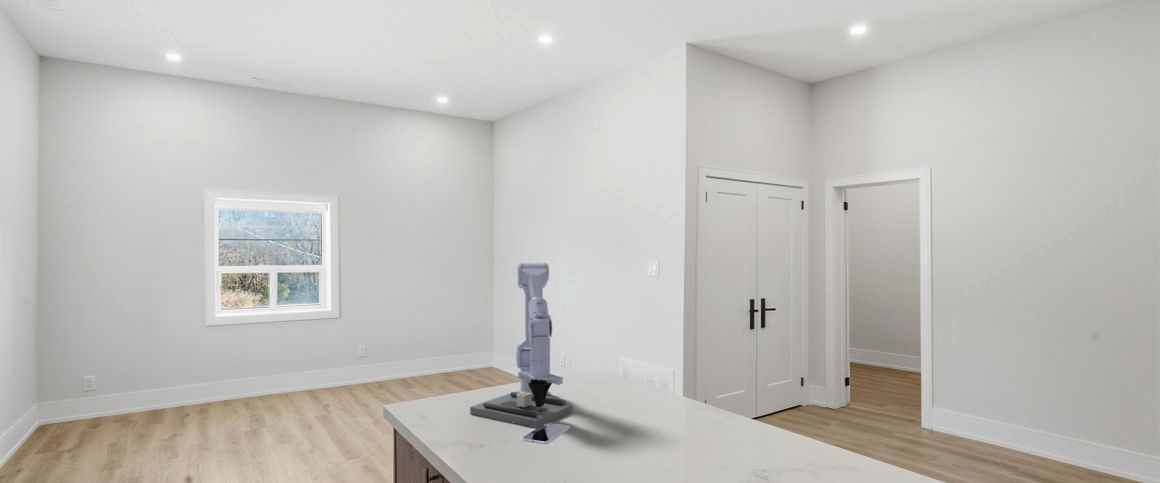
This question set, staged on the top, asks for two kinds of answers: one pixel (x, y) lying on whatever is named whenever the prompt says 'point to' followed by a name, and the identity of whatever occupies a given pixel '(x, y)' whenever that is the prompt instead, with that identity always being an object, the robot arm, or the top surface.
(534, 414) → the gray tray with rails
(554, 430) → the mobile phone
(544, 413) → the panel
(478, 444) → the top surface
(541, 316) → the robot arm
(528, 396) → the white orange striped block
